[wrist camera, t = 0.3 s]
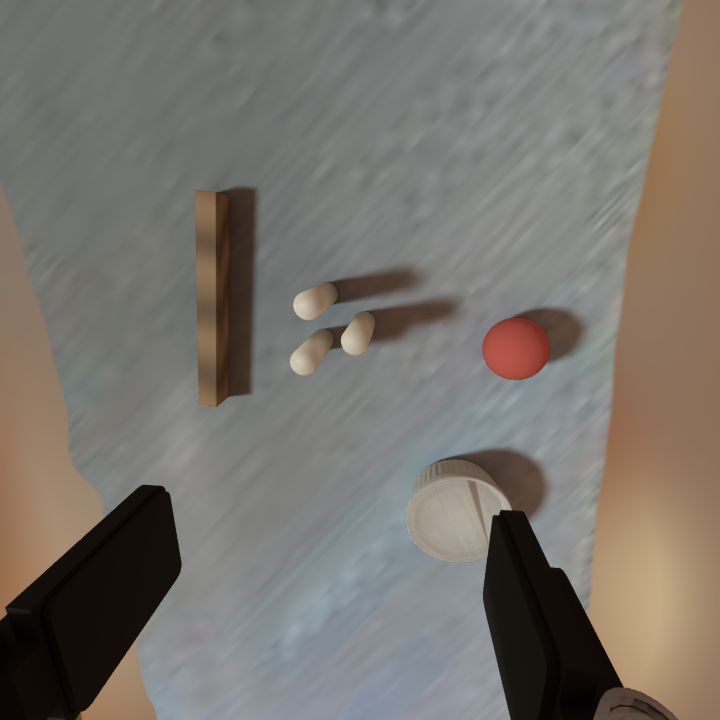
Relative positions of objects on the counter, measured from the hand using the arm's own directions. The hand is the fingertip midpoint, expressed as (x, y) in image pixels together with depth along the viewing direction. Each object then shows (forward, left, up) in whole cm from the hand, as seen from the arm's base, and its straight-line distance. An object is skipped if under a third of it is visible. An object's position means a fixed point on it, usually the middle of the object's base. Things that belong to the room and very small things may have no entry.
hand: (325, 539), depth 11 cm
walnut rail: (0, -18, -30) cm, 35 cm away
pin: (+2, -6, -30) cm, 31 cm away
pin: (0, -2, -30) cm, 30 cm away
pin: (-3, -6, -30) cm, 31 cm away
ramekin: (+19, +11, -31) cm, 38 cm away
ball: (0, +13, -27) cm, 30 cm away
